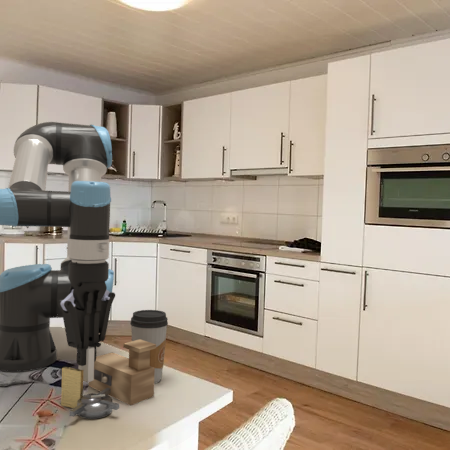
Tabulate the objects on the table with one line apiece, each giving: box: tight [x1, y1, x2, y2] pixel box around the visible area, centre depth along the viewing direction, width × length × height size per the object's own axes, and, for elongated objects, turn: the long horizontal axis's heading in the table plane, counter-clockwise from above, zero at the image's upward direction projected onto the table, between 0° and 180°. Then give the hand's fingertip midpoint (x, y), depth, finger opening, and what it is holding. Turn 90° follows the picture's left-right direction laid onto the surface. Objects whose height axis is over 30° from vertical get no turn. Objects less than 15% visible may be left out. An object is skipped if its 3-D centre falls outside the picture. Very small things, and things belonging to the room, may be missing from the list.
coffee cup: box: [130, 309, 169, 385], centre depth 106 cm, size 8×8×15 cm
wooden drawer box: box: [88, 339, 156, 406], centre depth 99 cm, size 14×7×11 cm, turn 50°
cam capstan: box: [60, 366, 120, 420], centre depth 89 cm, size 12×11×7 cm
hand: (85, 379), depth 93 cm, fingers closed
